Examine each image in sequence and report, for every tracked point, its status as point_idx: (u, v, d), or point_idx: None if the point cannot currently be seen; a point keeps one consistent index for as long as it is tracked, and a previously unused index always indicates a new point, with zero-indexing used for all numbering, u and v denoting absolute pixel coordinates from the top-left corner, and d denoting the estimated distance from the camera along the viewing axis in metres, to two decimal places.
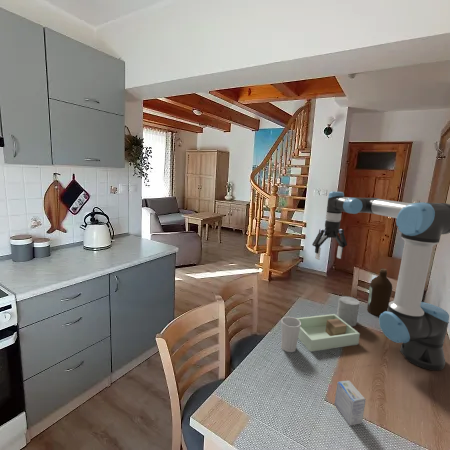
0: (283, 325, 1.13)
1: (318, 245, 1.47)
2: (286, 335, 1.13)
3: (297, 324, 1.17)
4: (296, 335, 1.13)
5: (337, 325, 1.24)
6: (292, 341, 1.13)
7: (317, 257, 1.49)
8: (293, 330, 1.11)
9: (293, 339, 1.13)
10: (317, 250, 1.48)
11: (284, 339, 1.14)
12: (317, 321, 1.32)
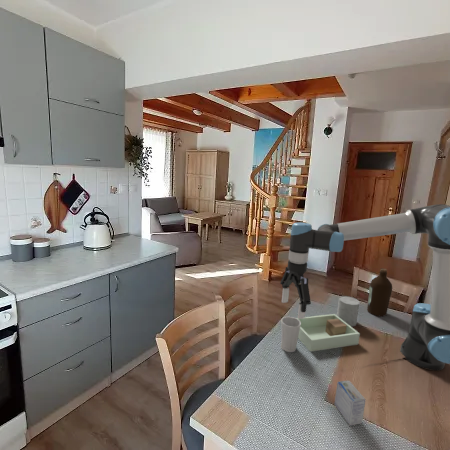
0: (283, 325, 1.13)
1: (282, 284, 1.20)
2: (286, 335, 1.13)
3: (297, 324, 1.17)
4: (296, 335, 1.13)
5: (337, 325, 1.24)
6: (292, 341, 1.13)
7: None
8: (293, 330, 1.11)
9: (293, 339, 1.13)
10: (283, 290, 1.21)
11: (284, 339, 1.14)
12: (317, 321, 1.32)
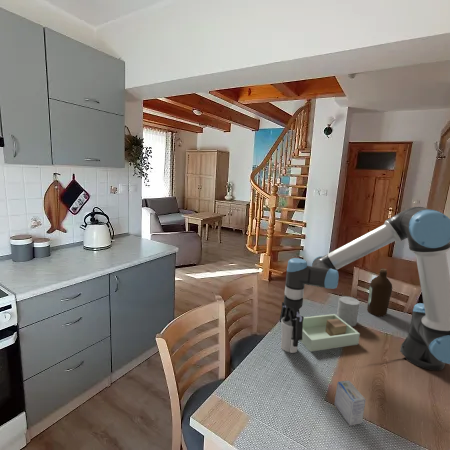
0: (283, 325, 1.13)
1: None
2: (286, 335, 1.13)
3: None
4: None
5: (337, 325, 1.24)
6: None
7: None
8: None
9: None
10: None
11: (284, 339, 1.14)
12: (317, 321, 1.32)
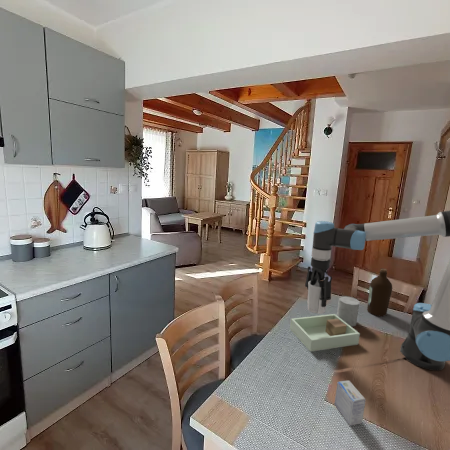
0: (311, 287, 1.16)
1: (307, 287, 1.23)
2: (314, 296, 1.16)
3: None
4: None
5: (337, 325, 1.24)
6: None
7: None
8: None
9: None
10: None
11: (312, 301, 1.17)
12: (317, 321, 1.32)
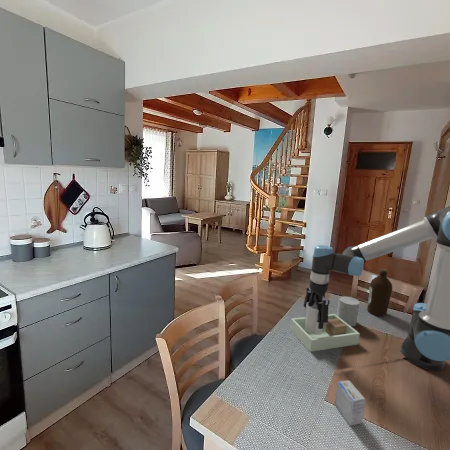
0: (309, 309, 1.19)
1: None
2: (311, 318, 1.19)
3: None
4: None
5: (337, 325, 1.24)
6: None
7: None
8: None
9: None
10: None
11: (309, 322, 1.20)
12: None
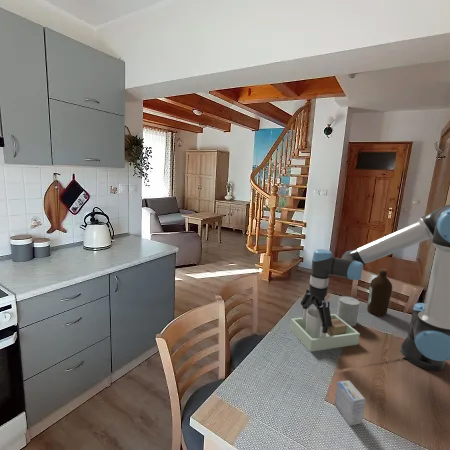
0: (308, 316, 1.20)
1: (303, 305, 1.29)
2: (311, 326, 1.19)
3: None
4: None
5: (337, 325, 1.24)
6: (317, 331, 1.19)
7: None
8: (319, 321, 1.18)
9: (318, 330, 1.19)
10: None
11: (309, 330, 1.21)
12: None
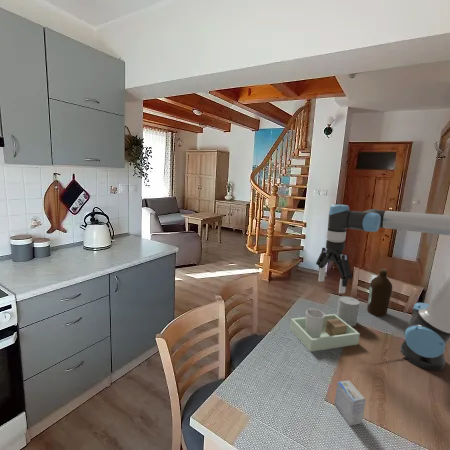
0: (308, 316, 1.20)
1: (319, 264, 1.28)
2: (311, 326, 1.19)
3: (321, 316, 1.23)
4: (320, 326, 1.19)
5: (337, 325, 1.24)
6: (316, 331, 1.19)
7: None
8: (318, 321, 1.18)
9: (318, 330, 1.19)
10: None
11: (309, 330, 1.21)
12: None
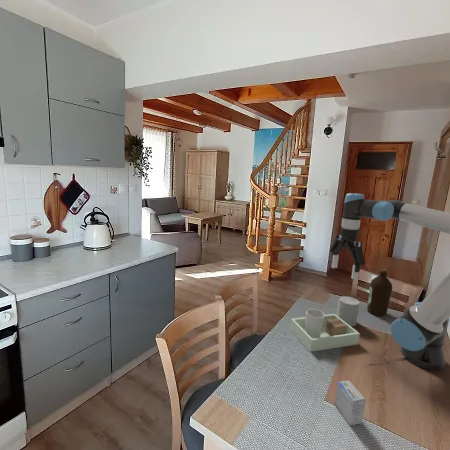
0: (308, 316, 1.20)
1: (332, 251, 1.33)
2: (311, 326, 1.19)
3: (321, 316, 1.23)
4: (320, 326, 1.19)
5: (337, 325, 1.24)
6: (316, 331, 1.19)
7: None
8: (318, 320, 1.18)
9: (318, 330, 1.19)
10: (333, 257, 1.34)
11: (309, 330, 1.21)
12: None
